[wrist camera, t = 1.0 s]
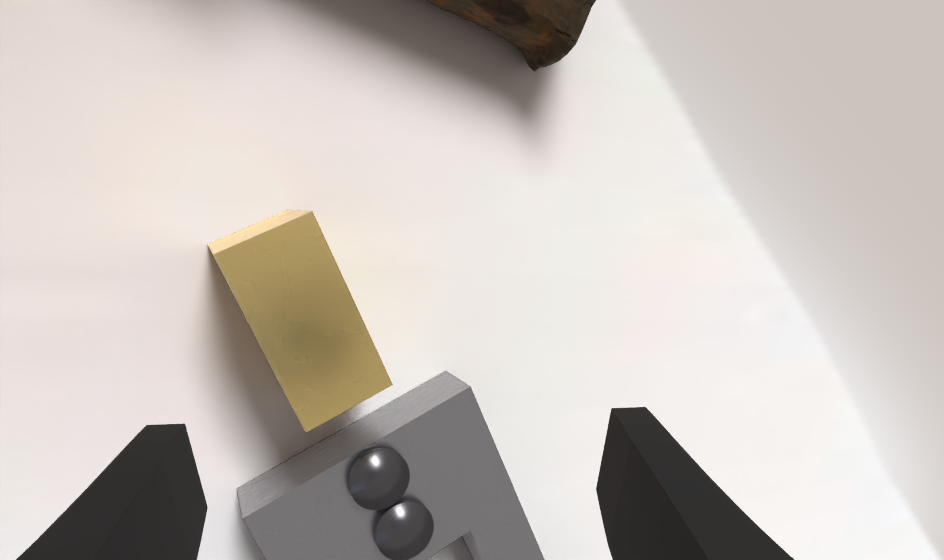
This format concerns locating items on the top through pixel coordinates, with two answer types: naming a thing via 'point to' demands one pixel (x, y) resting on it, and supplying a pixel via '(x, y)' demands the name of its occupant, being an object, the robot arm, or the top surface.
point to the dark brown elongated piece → (528, 24)
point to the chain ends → (394, 487)
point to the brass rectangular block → (302, 315)
